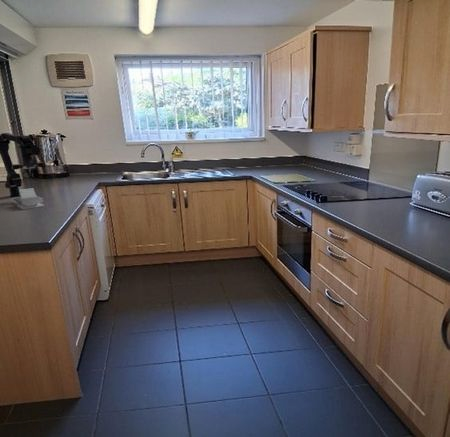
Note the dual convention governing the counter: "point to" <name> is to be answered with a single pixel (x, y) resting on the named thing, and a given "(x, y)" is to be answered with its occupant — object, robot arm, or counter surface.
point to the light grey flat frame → (18, 202)
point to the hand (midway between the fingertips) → (30, 178)
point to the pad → (31, 206)
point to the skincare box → (28, 197)
